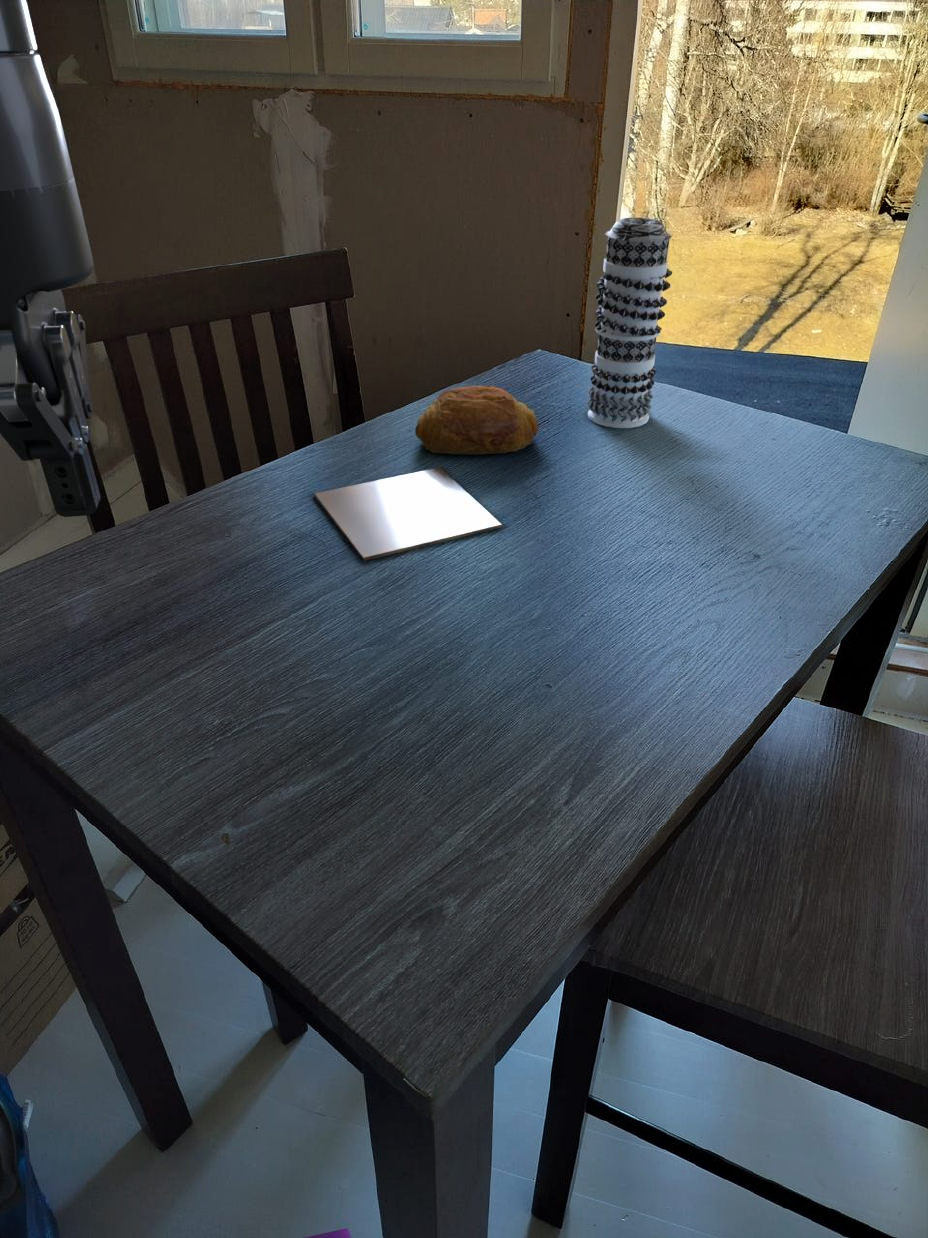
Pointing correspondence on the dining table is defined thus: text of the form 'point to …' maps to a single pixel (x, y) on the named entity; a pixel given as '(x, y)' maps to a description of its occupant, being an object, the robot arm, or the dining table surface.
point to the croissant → (476, 422)
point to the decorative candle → (628, 322)
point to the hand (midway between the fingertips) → (79, 510)
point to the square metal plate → (405, 513)
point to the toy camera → (334, 1234)
